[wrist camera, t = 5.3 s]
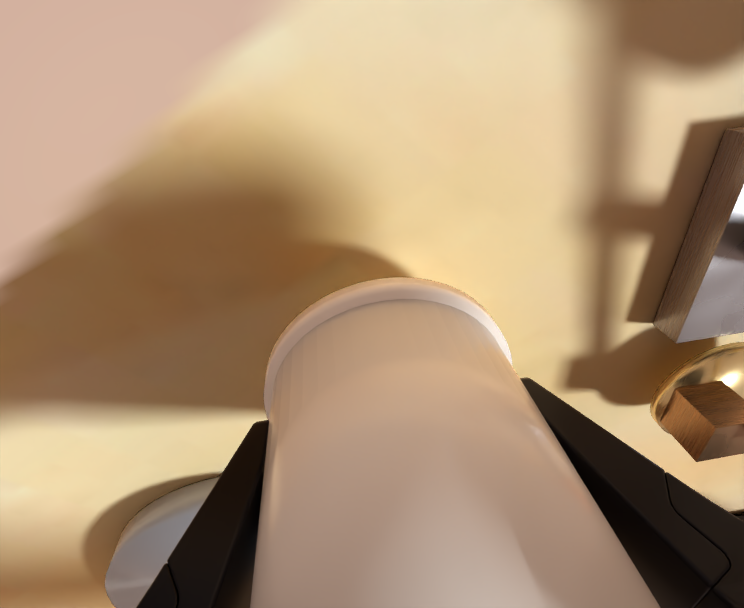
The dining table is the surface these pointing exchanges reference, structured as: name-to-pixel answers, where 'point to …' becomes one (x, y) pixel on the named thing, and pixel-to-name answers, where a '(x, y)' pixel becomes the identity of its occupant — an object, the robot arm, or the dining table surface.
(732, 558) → the robot arm
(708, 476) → the dining table surface
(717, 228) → the balance
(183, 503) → the dish
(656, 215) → the dining table surface
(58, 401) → the dining table surface
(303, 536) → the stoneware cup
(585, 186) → the dining table surface
